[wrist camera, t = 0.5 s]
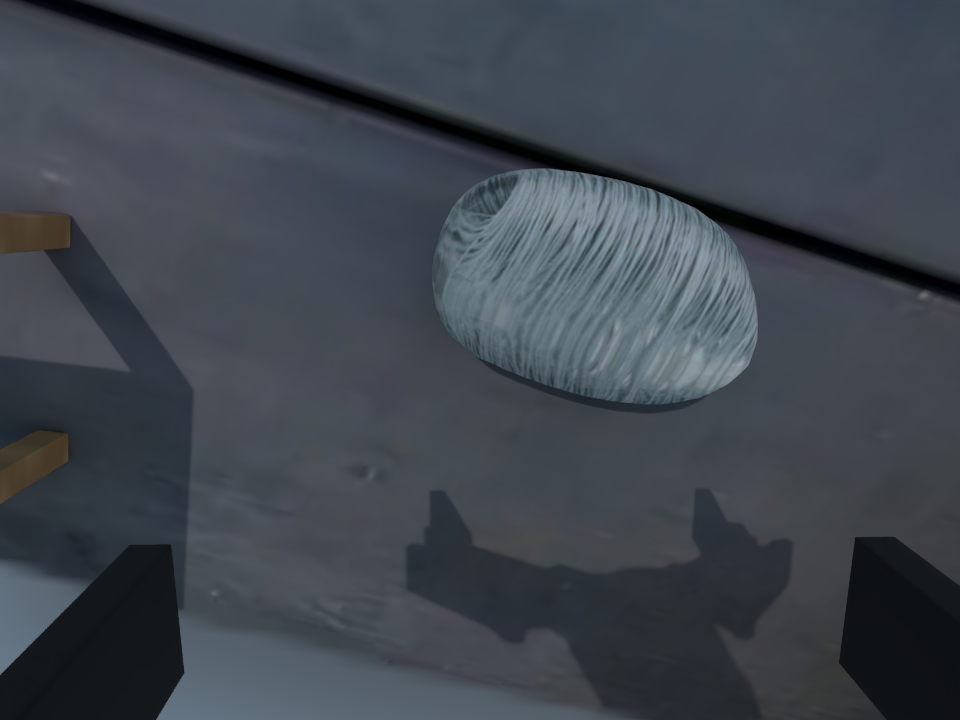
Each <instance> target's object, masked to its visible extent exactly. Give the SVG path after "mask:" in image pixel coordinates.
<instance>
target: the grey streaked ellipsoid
mask: <svg viewBox="0 0 960 720" xmlns="http://www.w3.org/2000/svg"><path fill="white" fill-rule="evenodd" d="M432 284H433V293H434V300H435V306H436V309H437V313H438V316H439V318H440V320H441V321H442V323H443V325H444V326H445V328H446V330H447V331H448V333H449V334H450V335H451V336H452V337H453V338H454V339H455V340H456V341H457V342H458V343H460V344H461V345H462V346H463V347H464V348H466V349H467V350H468V351H469V352H471V353H472V354H473V355H475V356H476V357H478V358H480V359H482V360H485V361H487V362H489V363H492V364H494V365H496V366H498V367H500V368H502V369H505V370H507V371H510V372H512V373H515V374H517V375H520V376H522V377H525V378H527V379H530V380H533V381H536V382H539V383H542V384H545V385H547V386H551V387H555V388H558V389H561V390H565V391H568V392H572V393H575V394H579V395H582V396H587V397H592V398H597V399H603V400H609V401H615V402H624V403H636V404H670V403H676V402H681V401H687V400H692V399H697V398H700V397H703V396H705V395H707V394H710V393H712V392H714V391H716V390H718V389H720V388H722V387H724V386H726V385H727V384H728V383H730V382H731V381H732V380H733V379H734V378H736V377H737V376H738V375H739V374H740V373H741V372H742V371H743V370H744V369H745V368H746V367H747V366H748V364H749V362H750V359H751V356H752V354H753V351H754V348H755V345H756V342H757V328H758V322H757V309H756V299H755V295H754V292H753V288H752V284H751V280H750V276H749V272H748V269H747V267H746V264H745V261H744V259H743V257H742V255H741V253H740V251H739V250H738V249H737V247H736V246H735V244H734V243H733V241H732V240H731V238H730V237H729V236H728V234H727V233H726V232H725V231H724V230H722V229H721V228H720V227H719V226H718V225H717V224H716V223H715V222H713V221H712V220H711V219H709V218H708V217H707V216H705V215H704V214H703V213H701V212H700V211H699V210H697V209H695V208H693V207H691V206H689V205H687V204H685V203H682V202H680V201H678V200H676V199H674V198H672V197H669V196H667V195H664V194H662V193H660V192H657V191H655V190H652V189H649V188H645V187H641V186H638V185H634V184H631V183H628V182H624V181H620V180H616V179H611V178H606V177H601V176H596V175H591V174H585V173H580V172H571V171H563V170H555V169H527V170H517V171H508V172H506V173H501V174H497V175H494V176H491V177H489V178H487V179H485V180H483V181H481V182H479V183H477V184H476V185H474V186H473V187H471V188H470V189H469V190H467V191H466V192H465V193H464V194H463V195H462V196H461V198H460V199H459V200H458V201H457V202H456V204H455V205H454V207H453V208H452V210H451V212H450V214H449V216H448V217H447V219H446V220H445V222H444V224H443V226H442V229H441V232H440V235H439V238H438V241H437V244H436V248H435V252H434V257H433V265H432Z"/></svg>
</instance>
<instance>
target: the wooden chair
mask: <svg viewBox="0 0 960 720" xmlns="http://www.w3.org/2000/svg"><path fill="white" fill-rule="evenodd" d="M70 219H71V217H70V216H69V215H64V214H56V213H49V212H41V211H0V254H3V253H15V252H27V251H39V250H51V249H63V248H70ZM66 462H68V434H67V433H59V432H51V431H42V430H37V431H35V432H33V433H31V434H29V435H27V436H25V437H23V438H21V439H19V440H17V441H16V442H14V443H12V444H10V445H8V446H6V447H4V448H2V449H0V504H1V503H3V502H4V501H6V500H7V499H9V498H11V497H12V496H14V495H15V494H17V493H19V492H20V491H22V490H23V489H25V488H27V487H28V486H30V485H31V484H33V483H35V482H36V481H38V480H39V479H41V478H43V477H44V476H46V475H47V474H49V473H51V472H52V471H54V470H55V469H57V468H58V467H60V466H62V465H63V464H65V463H66Z"/></svg>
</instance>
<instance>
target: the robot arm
mask: <svg viewBox="0 0 960 720" xmlns="http://www.w3.org/2000/svg"><path fill="white" fill-rule="evenodd" d="M839 663H840V664H841V666H842V667H843V668H844V669H845V670H846V672H847V673H848V674H849V675H850V676H851V678H852V679H853V680H854V681H855V682H856V684H857V685H858V686H859V687H860V688H861V690H862V691H863V692H864V693H865V694H866V695H867V697H868V698H869V699H870V700H871V701H872V703H873V704H874V705H875V706H876V707H877V709H878V710H879V711H880V712H881V713H882V715H883V716H884V717H885V718H886V719H887V720H960V586H959V585H958V584H956V583H955V582H954V581H952V580H951V579H950V578H948V577H947V576H946V575H944V574H943V573H942V572H940V571H939V570H938V569H936V568H935V567H934V566H932V565H931V564H930V563H928V562H927V561H926V560H924V559H923V558H922V557H920V556H919V555H918V554H916V553H915V552H914V551H912V550H911V549H910V548H908V547H907V546H906V545H904V544H903V543H902V542H900V541H899V540H898V539H896V538H895V537H855V544H854V552H853V559H852V567H851V575H850V583H849V590H848V598H847V606H846V613H845V621H844V629H843V636H842V644H841V652H840V659H839ZM183 674H184V665H183V657H182V646H181V636H180V626H179V617H178V607H177V598H176V588H175V578H174V569H173V559H172V549H171V545H129V546H128V547H127V548H126V549H125V550H124V551H123V552H122V553H121V555H120V556H119V557H118V558H117V559H116V560H115V561H114V562H113V563H112V564H111V565H110V566H109V567H108V568H107V569H106V570H105V571H104V572H103V573H102V574H101V575H100V576H99V577H98V578H97V579H96V580H95V581H94V582H93V583H92V584H91V585H90V586H89V587H88V588H87V589H86V590H85V591H84V592H83V593H82V594H81V595H80V596H79V597H78V598H77V599H76V600H75V601H74V602H73V603H72V604H71V605H70V606H69V607H68V608H67V609H66V610H65V611H64V612H63V613H62V614H61V615H60V616H59V617H58V618H57V619H56V620H55V621H54V622H53V623H52V624H51V625H50V626H49V627H48V628H47V629H46V630H45V631H44V632H43V633H42V634H41V635H40V636H39V637H38V638H37V639H36V640H35V641H34V642H33V643H32V644H31V645H30V646H29V647H28V648H27V649H26V650H25V651H24V652H23V653H22V654H21V655H20V656H19V657H18V658H17V659H16V660H15V661H14V662H13V663H12V664H11V665H10V666H9V667H8V668H7V669H6V670H5V671H4V672H3V673H2V674H1V675H0V720H156V719H157V717H158V715H159V714H160V712H161V711H162V709H163V707H164V706H165V704H166V702H167V701H168V699H169V697H170V696H171V694H172V692H173V691H174V689H175V687H176V686H177V684H178V682H179V681H180V679H181V677H182V676H183Z"/></svg>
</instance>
